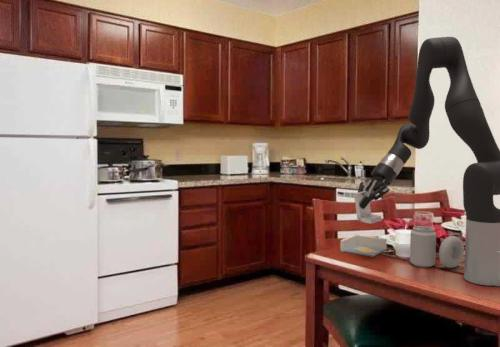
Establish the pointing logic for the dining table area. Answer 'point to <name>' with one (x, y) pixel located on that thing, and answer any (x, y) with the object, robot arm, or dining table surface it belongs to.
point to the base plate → (364, 250)
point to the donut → (457, 252)
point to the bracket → (364, 214)
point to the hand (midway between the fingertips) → (359, 206)
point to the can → (423, 246)
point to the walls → (363, 242)
